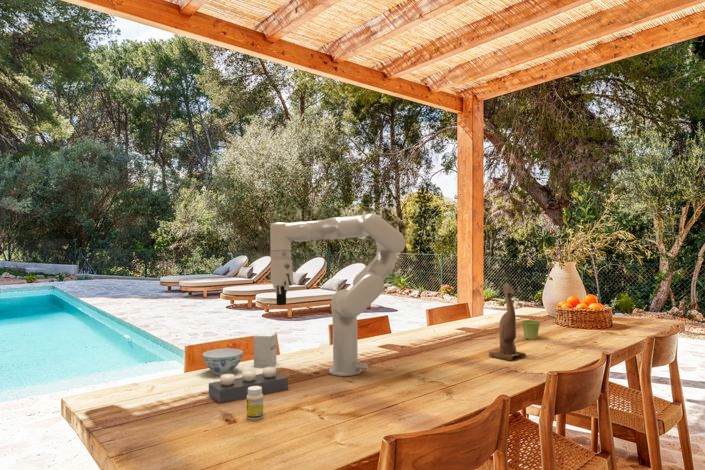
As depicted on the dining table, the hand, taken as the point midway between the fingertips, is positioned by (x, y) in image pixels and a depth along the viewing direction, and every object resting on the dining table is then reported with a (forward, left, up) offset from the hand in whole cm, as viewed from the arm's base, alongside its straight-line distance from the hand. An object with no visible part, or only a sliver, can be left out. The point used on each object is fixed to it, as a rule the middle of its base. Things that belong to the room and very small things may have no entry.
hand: (281, 304), depth 181 cm
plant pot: (-88, -102, -27) cm, 138 cm away
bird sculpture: (-78, -57, -27) cm, 100 cm away
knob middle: (+2, +19, -26) cm, 32 cm away
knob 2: (-2, +13, -26) cm, 29 cm away
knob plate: (+2, +19, -27) cm, 33 cm away
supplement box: (+15, -14, -27) cm, 34 cm away
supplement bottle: (-12, +39, -27) cm, 49 cm away
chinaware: (+25, +1, -27) cm, 37 cm away
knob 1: (+6, +26, -26) cm, 37 cm away
